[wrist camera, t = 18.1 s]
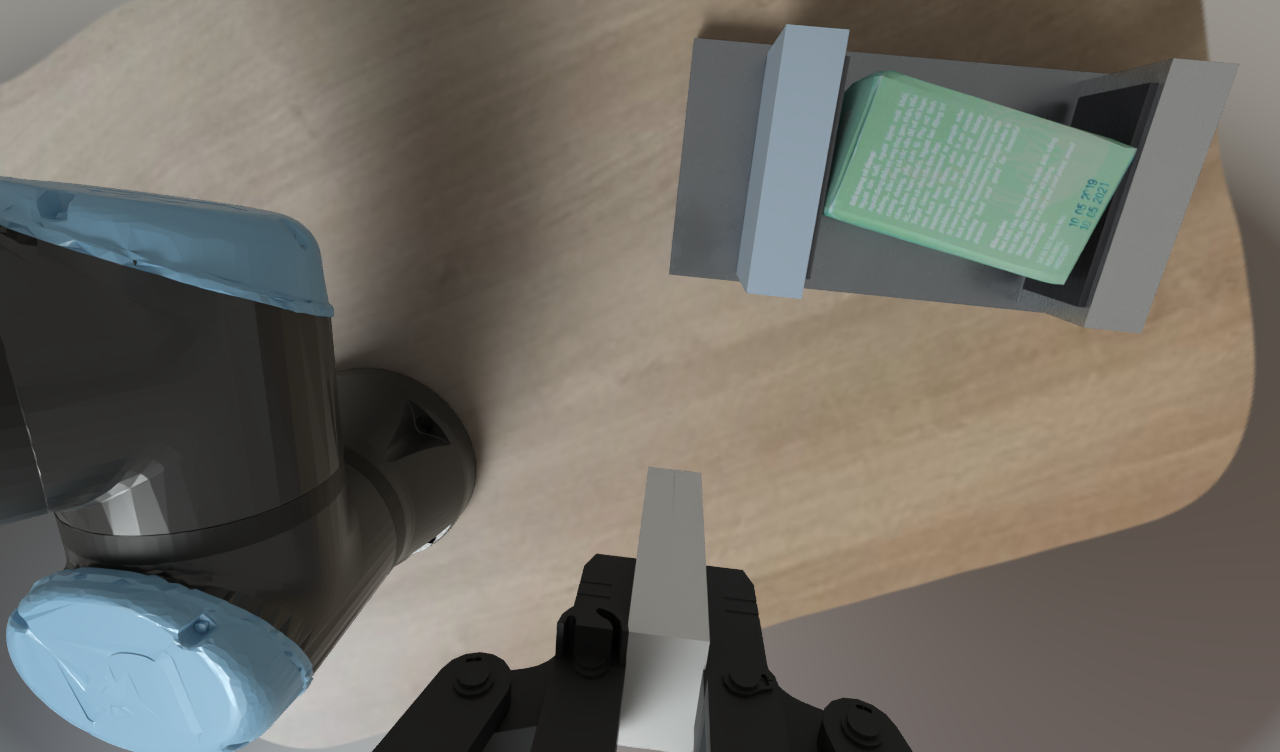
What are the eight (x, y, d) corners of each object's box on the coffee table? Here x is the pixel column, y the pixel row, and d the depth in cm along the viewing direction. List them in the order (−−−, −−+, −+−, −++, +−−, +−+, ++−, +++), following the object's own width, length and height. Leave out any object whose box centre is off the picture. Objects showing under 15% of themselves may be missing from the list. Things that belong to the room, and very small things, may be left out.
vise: (669, 270, 41) (665, 293, 33) (693, 43, 37) (696, 5, 29) (1055, 310, 40) (1147, 343, 32) (1127, 81, 36) (1255, 52, 28)
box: (840, 84, 36) (879, 63, 29) (1055, 149, 36) (1146, 144, 29) (796, 208, 38) (822, 216, 31) (998, 268, 38) (1069, 289, 31)
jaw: (736, 273, 39) (746, 293, 33) (767, 53, 35) (786, 24, 29) (788, 279, 39) (809, 299, 33) (825, 58, 35) (858, 30, 29)
